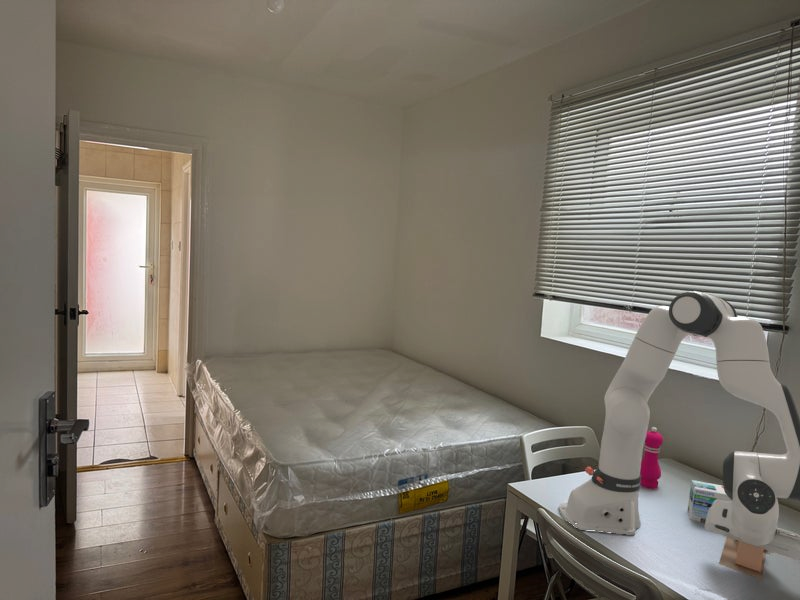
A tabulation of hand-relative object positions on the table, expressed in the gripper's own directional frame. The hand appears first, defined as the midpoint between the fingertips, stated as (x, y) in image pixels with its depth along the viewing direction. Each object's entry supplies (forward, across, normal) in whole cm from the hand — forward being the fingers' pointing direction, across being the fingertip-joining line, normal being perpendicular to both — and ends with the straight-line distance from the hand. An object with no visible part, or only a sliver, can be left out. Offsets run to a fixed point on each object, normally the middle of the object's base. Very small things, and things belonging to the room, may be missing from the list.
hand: (751, 545), depth 135 cm
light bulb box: (+17, +11, -9) cm, 22 cm away
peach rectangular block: (+3, 0, +4) cm, 4 cm away
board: (+6, +1, +2) cm, 7 cm away
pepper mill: (+27, +31, -19) cm, 45 cm away
